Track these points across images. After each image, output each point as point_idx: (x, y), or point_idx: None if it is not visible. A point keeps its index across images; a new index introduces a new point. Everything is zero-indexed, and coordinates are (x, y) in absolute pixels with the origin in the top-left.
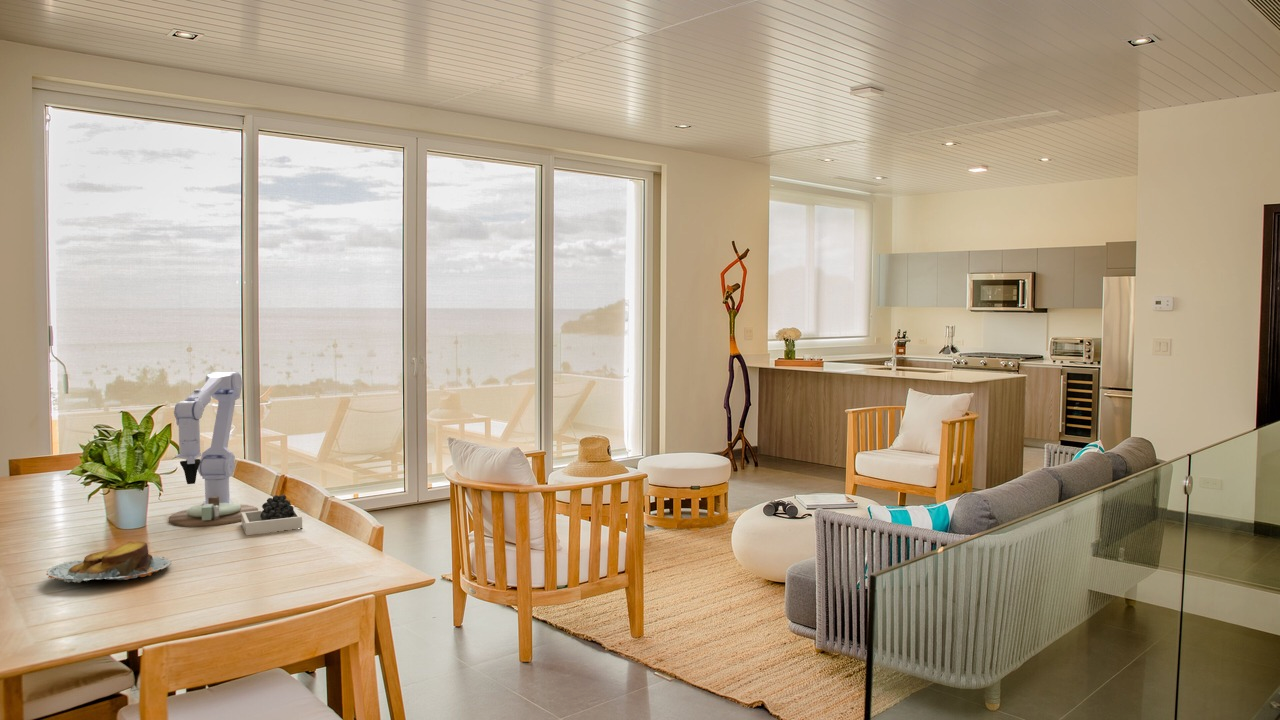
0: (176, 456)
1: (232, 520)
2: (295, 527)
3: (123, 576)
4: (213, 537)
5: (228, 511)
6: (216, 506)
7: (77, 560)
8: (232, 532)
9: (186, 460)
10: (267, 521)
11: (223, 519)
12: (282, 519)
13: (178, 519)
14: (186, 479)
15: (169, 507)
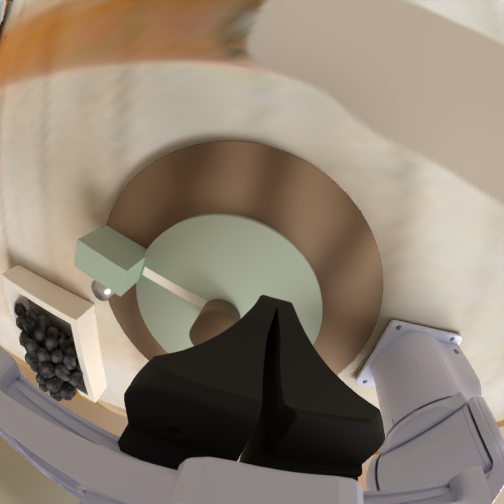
0: (172, 483)
1: (109, 299)
2: None
3: None
4: (22, 209)
5: (145, 321)
6: (93, 289)
7: (4, 1)
8: (39, 255)
9: (303, 471)
10: (10, 309)
11: None
12: (16, 331)
13: (211, 171)
14: (252, 308)
15: (493, 238)
